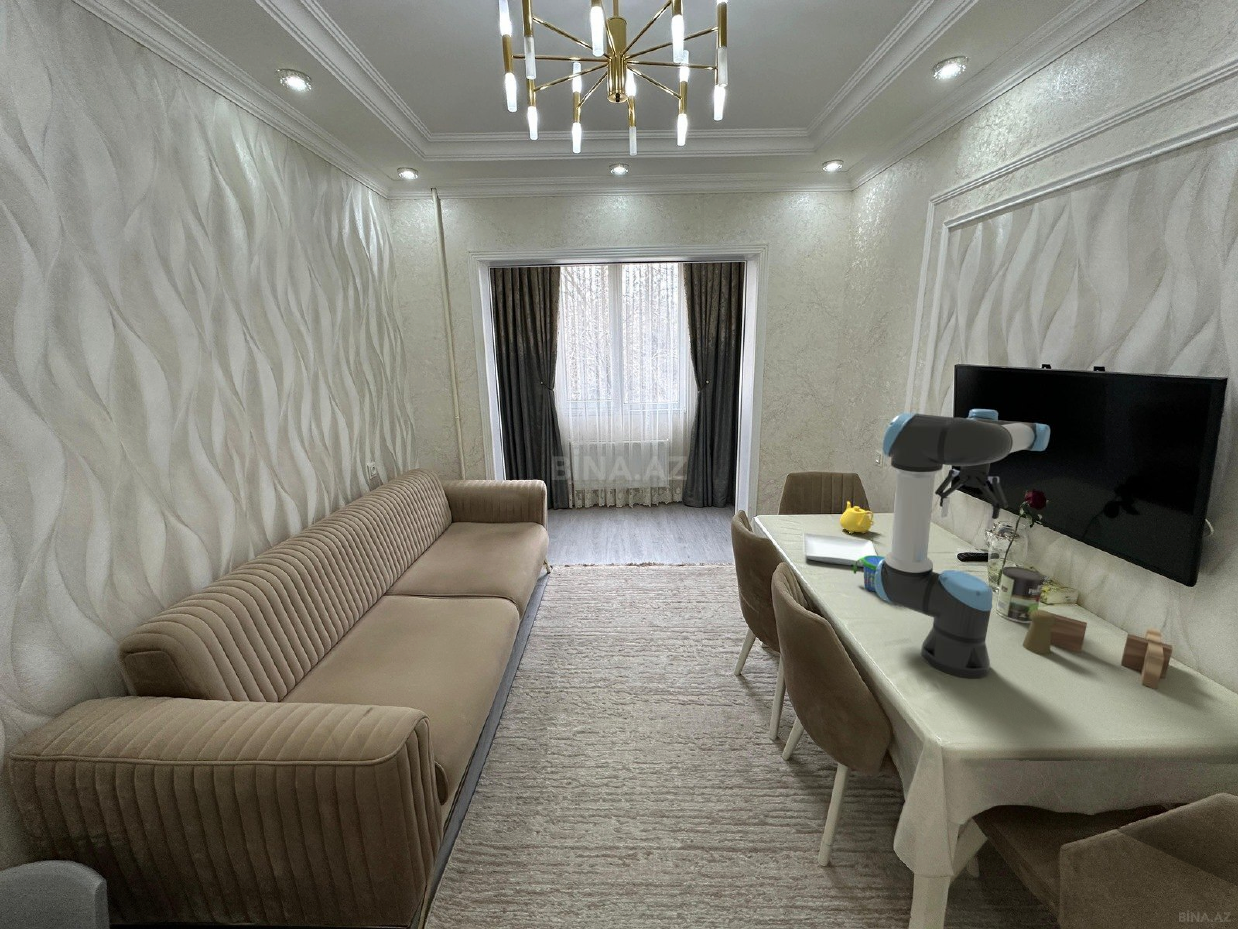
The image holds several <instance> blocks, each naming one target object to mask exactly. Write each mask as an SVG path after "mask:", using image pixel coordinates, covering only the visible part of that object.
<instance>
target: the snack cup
mask: <svg viewBox="0 0 1238 929" xmlns="http://www.w3.org/2000/svg"><path fill="white" fill-rule="evenodd" d="M884 558H885V556H880V555H877V556H875V555H869V556H865V557H863V558H860V559H858V560H857V561H856V562H855V564H854V566H853V567H852V568H853V570H852V571H853V574H854V575H856V574H857V571H858V570H857V569H858V566H857V563H858V561H862V562H863V585H864V586H865V588H866V589H867V590H868V591H872V592H876V589H875V583H874V578H875V573H876V568H877V565H878V563H879V562H880V561H881V560H882V559H884Z"/></svg>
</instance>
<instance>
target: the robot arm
mask: <svg viewBox="0 0 1238 929" xmlns="http://www.w3.org/2000/svg"><path fill="white" fill-rule="evenodd" d="M998 416H999V412H998V411H997V410H995V409H985V408H983V409H982V408H973V409H970V410H969V413H968V417H966V418H965V417H953V416H952V417H951V416H943V415H942V416H941V415H934V414H933V415H932V414H923V413H900V414H898V415H896V416H895V417H893V419H892V420H891V422H890V423H889V425H888V426H887V428H886V431H885V433H884V436H883V441H882V451H883V452H882V453H883V454H884V455H885V456H886V457H887V458H890V459H891V460H890V467H891V468H893V470H895V471H896V480H895V491H894V492H895V493H894V494H895V495H894V508H893V509H894V510H893V522H892V523H893V524H892V537H891V552H889V553H886V554H885V556H884V557H885V558H884V559H882V560H881V561H880V562H879V563H878V565H877V568H876V573H875V578H874V583H875V589H876V591H875V592H876V594H877V595H878V596H879V597H880V598H881V599H882V600H883V601H887V602H889V603H891V604H892V605H895V606H900V607H902V608H906V609H908V610H912V611H914V612H917V613H919V614H923V615H925V616H928V617H931V618H933V622H932V627H931V628H930V630H929V632H928V634H927V636H926V637H925V639H924V640H923V642H922V644H921V649H920V651H921V652H920V653H921V656H922V659H924V661H925V662H926V663H928V664H929V665H930V666H932V667H934V668H936V669H937V670H939V671H941V672H944V673H946V674H949V675H952V676H957V677H961V678H967V679H979V678H984V677H986V676H987V675H988V673H989V672H990V667H991V663H990V662H991V661H990V657H989V652H988V646H987V643H986V638H987V633H988V627H989V623H990V622H989V621H990V617H991V611H992V608H993V597H994V596H993V589H992V588H991V587H990V586H989V585H988V584H987V583H986V582H985V581H984V580H982V579H980V578H979V577H977V576H975V575H972V574H970V573H967V572H964V571H961V570H954V569H945V570H943V571H941V573H938V572H935V571H933V570H934V563H933V561H932V560H931V559H930V558H929V557H928V551H929V541H930V540H929V539H930V532H931V522H932V521H931V520H932V508H933V501H934V500H933V499H934V494H935V495H938V496H939V497H940V500H939V506H940V507H941V513H940V518H946V517H948V513H949V512H948V511H949V506H950V505H949V504H950V499H951V498H950V497H949V496H950V495H952V493H954V492H955V491H956V490H958V489H959V488H960V487H962V486H965V487H971V488H975V489H976V488H978V489H979V490H980V492H982V494H983V495H984V496H985V498H986V500H987V501H988V503H989V504H990V505H991V508H989V512H988V519H987V524H986V525H987V526H986V529H988V530H990V529H993V528H994V524H995V520H996V519H999V516H1000V511H1001V509H1002V510H1003V509H1007V508H1008V507H1009V504H1008V501H1007V499H1006V496H1005V494H1004V491H1003V489H1002V486H1001V477H1000V476H990V475H989V472H990V468H991V463H994V462H995V463H996V462H998V461H1001V460H1002V459H1004V458H1005V457H1007V456H1008V455H1009V454H1011V453H1014V452H1019V451H1021V450H1027V451H1033V452H1034V451H1035V452H1036V451H1038V452H1042V451H1045V450H1046V448H1047V447H1048V444H1049V442H1050V435H1051V428H1050V426H1049V425H1047V424H1043V423H1038V422H1033V423H1032V422H1025V421H1024V422H1022V421H1010V420H1009V421H1007V420H999V419H998V418H999V417H998ZM944 465H946V466H954V467H960V470H957V469H956V468H953V469H949V470H948V473H947V476H946V477H945V479H944V480H943V481H942V482H941V484H940V485H939V486H938V487H937V489H936V490H935V491H934V487H935V477H936V474H938V473H939V472H941V471H943V467H944ZM957 476H958V477H959V480H958V481H957V482H955V484H953V485H952V486H950V487H949V488H948V489H947V490H946V488H947V487H948V486H949V485H950V484H951V483H952V481H953V480H954V478H955V477H957ZM987 482H990V484H991V486H992V488H993V491H994V494H995V495H994V494H993V492H992V491H991V490H990V487H989V485H988V484H987Z"/></svg>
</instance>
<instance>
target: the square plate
mask: <svg viewBox="0 0 1238 929" xmlns="http://www.w3.org/2000/svg"><path fill="white" fill-rule="evenodd" d="M802 539H803V548H802V555H803V556H804V557H805V558H806V559H808V560H812V561H817V562H820V561H822V562H821V563H827V562H829V563H828V564H835V563H836V565H844V566H851V565H853V567H854V564H855V562H856V561H857V560H858V559H860V558H863V557H865V556H869V555H875V556H878V554H877V551H876V550H875V546H874V544H873V542H872V540H869V539H860V538H855V537H854V538H853V537H848V536H847V537H846V536H839V535H830V534H820V533H819V534H818V533H808V532H807V533H806V532H804V533H802ZM857 567H860V568H862V567H863V562H862V561H858V563H857ZM863 568H864V567H863Z"/></svg>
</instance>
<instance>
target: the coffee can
mask: <svg viewBox="0 0 1238 929" xmlns="http://www.w3.org/2000/svg"><path fill="white" fill-rule="evenodd" d="M1001 571H1002V572H1001V578H1000V582H999V589H998V593H997V594H998V596H997V602H996V606H995V609H996V611H995V613H996V614H997V613H998V614H997V615H998V616H1000V617H1002V616H1003V617H1002V618H1003V619H1005V620H1006V619H1007V620H1010V621H1011V622H1015V623H1021V624H1031V622H1032V620H1031V618H1030V615H1031V612H1032V611H1033V610H1039V606H1040V601H1041V595H1042V592H1043V587H1044V586H1043V585H1044V582H1045V576H1044V575H1043V574H1041V573H1040V572H1038V571H1035V570H1033V569H1029V568H1024V567H1019V566H1004V567H1003V568H1002V569H1001Z"/></svg>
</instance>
